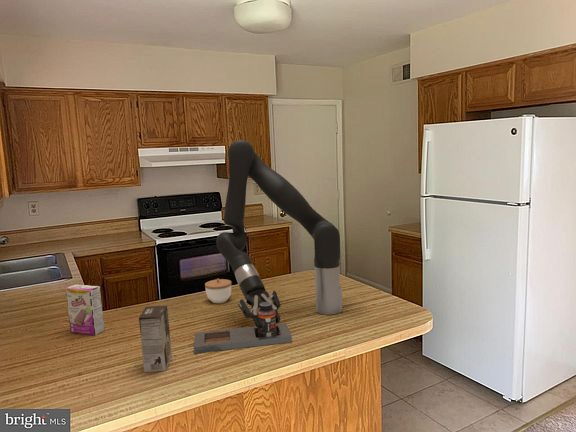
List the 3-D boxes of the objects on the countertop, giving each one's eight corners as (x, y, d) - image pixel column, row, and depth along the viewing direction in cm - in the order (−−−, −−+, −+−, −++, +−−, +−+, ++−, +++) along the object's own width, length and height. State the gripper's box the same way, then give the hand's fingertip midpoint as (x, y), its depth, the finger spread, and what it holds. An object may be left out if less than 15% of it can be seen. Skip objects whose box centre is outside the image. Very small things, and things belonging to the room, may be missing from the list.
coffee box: (150, 358, 130) (145, 306, 128) (172, 356, 131) (168, 304, 129) (143, 372, 121) (137, 317, 119) (166, 370, 122) (161, 315, 120)
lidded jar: (221, 306, 172) (219, 283, 171) (200, 303, 178) (199, 280, 177) (237, 298, 181) (236, 276, 180) (218, 295, 187) (216, 274, 186)
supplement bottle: (274, 341, 137) (272, 307, 136) (256, 341, 139) (254, 306, 137) (278, 334, 143) (276, 300, 142) (261, 333, 144) (259, 300, 143)
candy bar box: (69, 333, 152) (64, 288, 150) (80, 327, 157) (75, 283, 155) (95, 336, 149) (89, 289, 147) (105, 330, 153) (100, 285, 151)
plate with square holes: (286, 328, 148) (285, 322, 147) (291, 342, 137) (291, 336, 136) (195, 338, 143) (195, 332, 143) (194, 353, 132) (193, 347, 132)
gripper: (233, 278, 140) (253, 324, 132) (271, 270, 148) (292, 313, 140) (226, 291, 146) (246, 336, 137) (263, 282, 154) (284, 324, 145)
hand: (269, 324), depth 139 cm, fingers closed on supplement bottle, 6 cm apart
